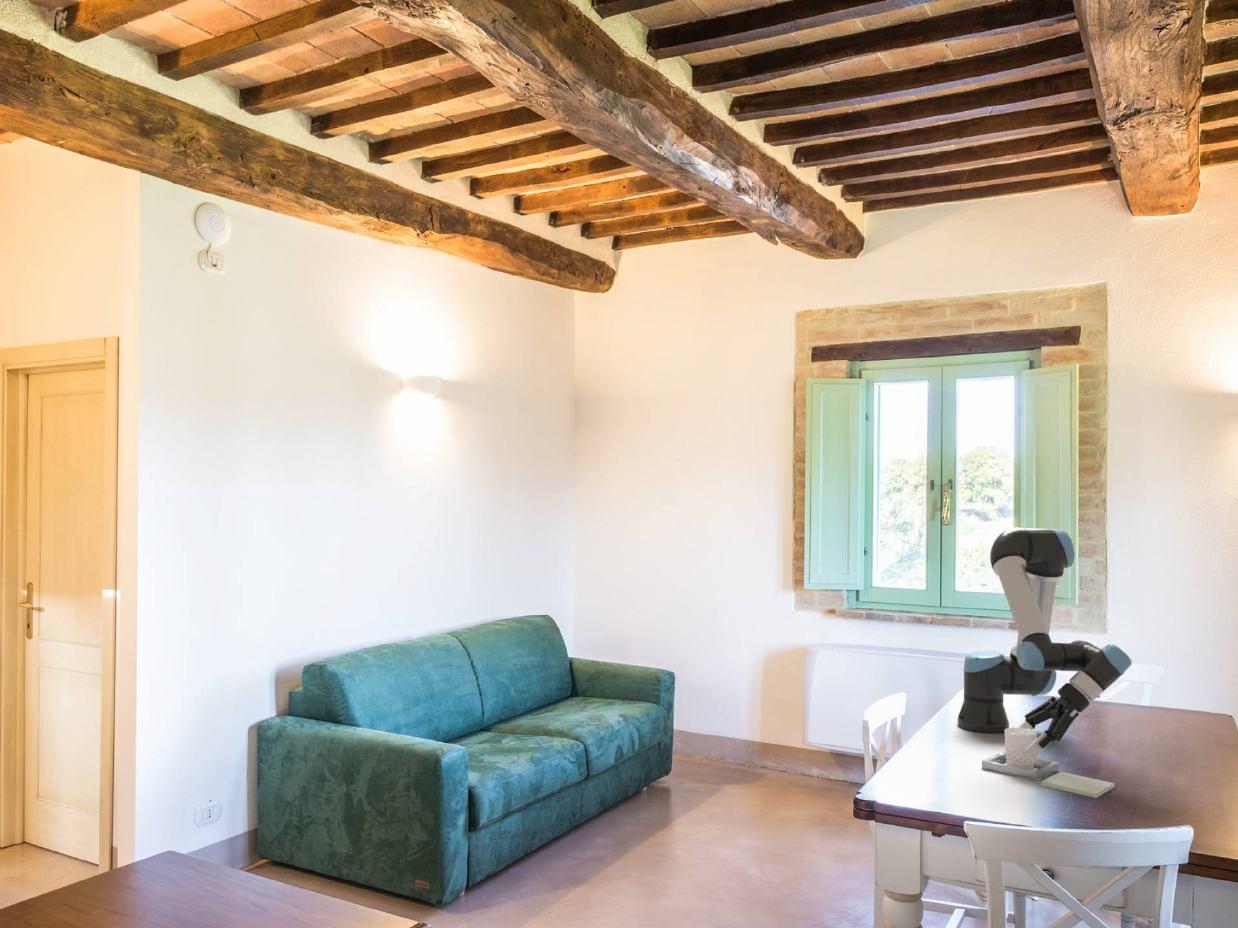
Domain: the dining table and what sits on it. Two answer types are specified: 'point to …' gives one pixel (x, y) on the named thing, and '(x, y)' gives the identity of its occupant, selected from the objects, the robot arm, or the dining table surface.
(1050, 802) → the dining table surface
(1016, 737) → the white cup
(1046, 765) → the square frame
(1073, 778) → the sage tile
